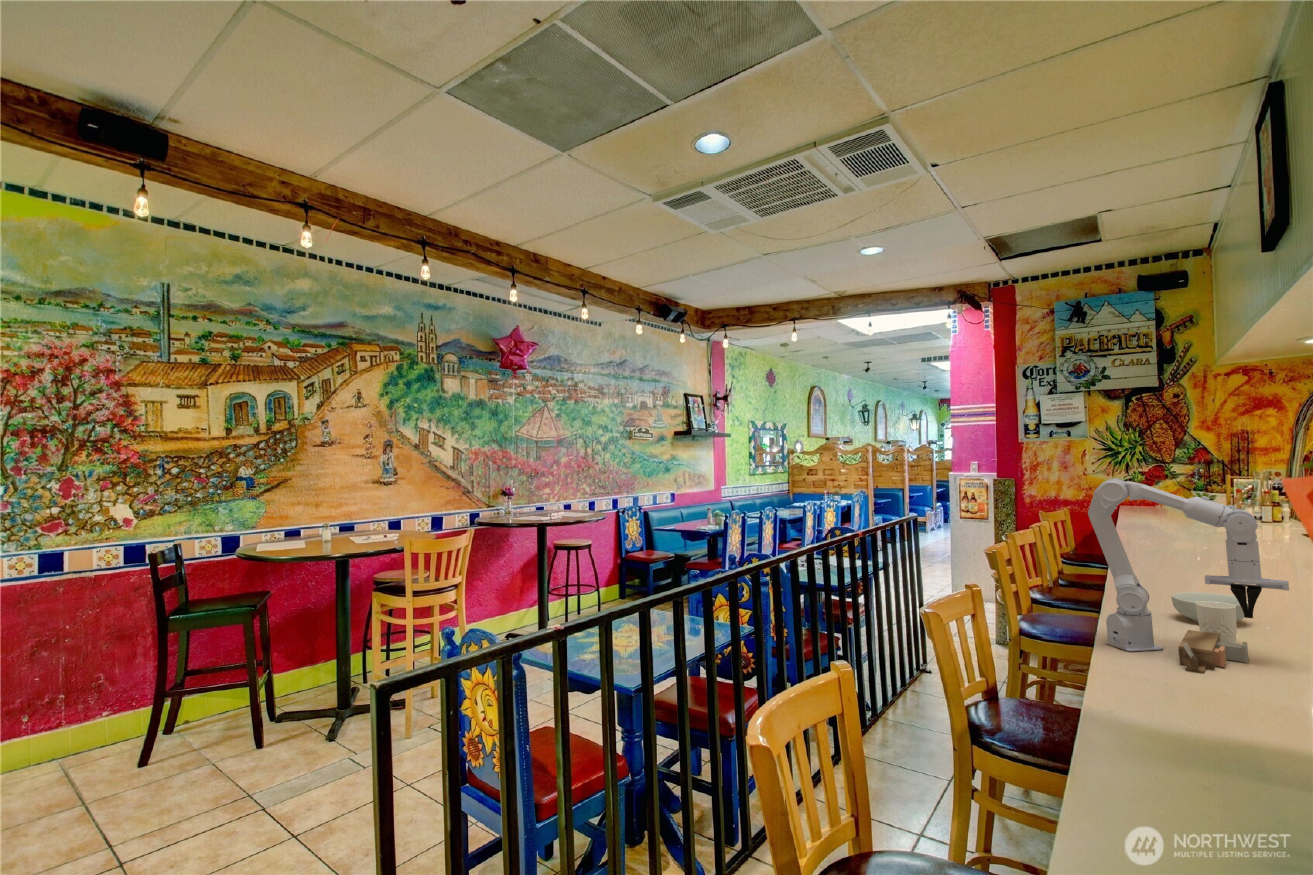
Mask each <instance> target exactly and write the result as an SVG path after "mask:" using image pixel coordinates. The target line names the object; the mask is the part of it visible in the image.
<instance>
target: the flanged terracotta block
mask: <svg viewBox="0 0 1313 875" xmlns="http://www.w3.org/2000/svg"><path fill="white" fill-rule="evenodd" d="M1214 659H1215V667H1221V668H1226V665H1227V659H1226V652H1225V646H1220V648H1219V649H1218V648H1214Z"/></svg>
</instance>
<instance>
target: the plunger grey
mask: <svg viewBox="0 0 1313 875" xmlns="http://www.w3.org/2000/svg"><path fill="white" fill-rule="evenodd" d="M1220 646H1225V652H1226V660H1230V661H1236V662H1243V663H1246V664H1247V663H1248V662H1249V648H1248V641H1242V643H1236V644H1234V643H1226V642H1218V641H1217V648H1218V649H1219V648H1220Z"/></svg>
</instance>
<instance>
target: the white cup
mask: <svg viewBox="0 0 1313 875" xmlns="http://www.w3.org/2000/svg"><path fill="white" fill-rule="evenodd" d="M1195 604H1196V610H1197V617H1198V622H1197V623H1198V627H1199V631H1202V632H1210V633H1218V634H1220V642H1226V643H1234V644H1237V631H1238V630H1237V621H1236V606H1235V605H1232V604H1228V603H1221V602H1209V601H1203V602H1196V603H1195Z"/></svg>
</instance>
